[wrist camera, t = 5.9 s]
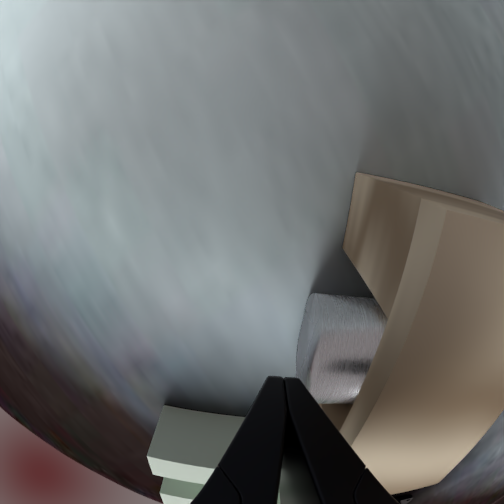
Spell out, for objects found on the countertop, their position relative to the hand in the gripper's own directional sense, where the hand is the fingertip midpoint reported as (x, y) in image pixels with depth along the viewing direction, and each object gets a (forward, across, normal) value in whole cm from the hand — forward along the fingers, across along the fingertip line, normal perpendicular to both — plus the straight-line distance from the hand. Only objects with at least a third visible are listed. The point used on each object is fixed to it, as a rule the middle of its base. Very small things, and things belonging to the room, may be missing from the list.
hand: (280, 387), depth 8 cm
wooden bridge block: (+4, -5, 0) cm, 7 cm away
